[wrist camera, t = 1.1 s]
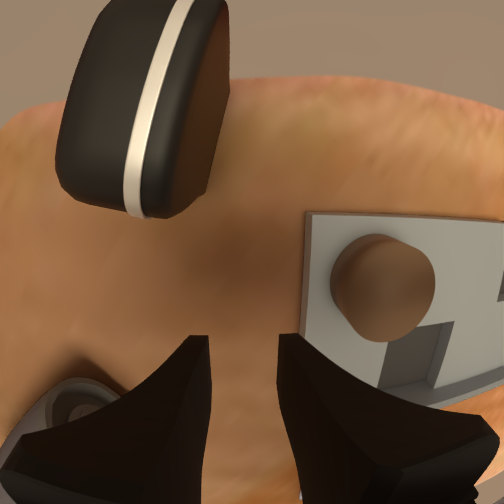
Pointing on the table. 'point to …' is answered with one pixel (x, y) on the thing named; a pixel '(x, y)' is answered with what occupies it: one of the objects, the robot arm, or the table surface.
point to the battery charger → (146, 106)
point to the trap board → (435, 321)
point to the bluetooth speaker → (58, 412)
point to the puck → (382, 286)
